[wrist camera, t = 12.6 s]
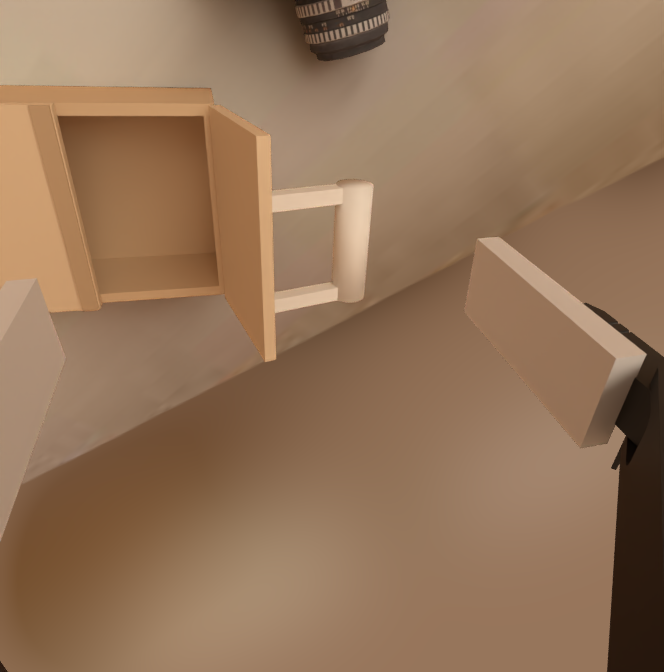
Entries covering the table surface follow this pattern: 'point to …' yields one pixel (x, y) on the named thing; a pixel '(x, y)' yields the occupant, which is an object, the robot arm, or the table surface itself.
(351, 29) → the camera
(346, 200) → the flap
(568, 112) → the table surface
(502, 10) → the table surface
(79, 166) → the carton
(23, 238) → the panel
